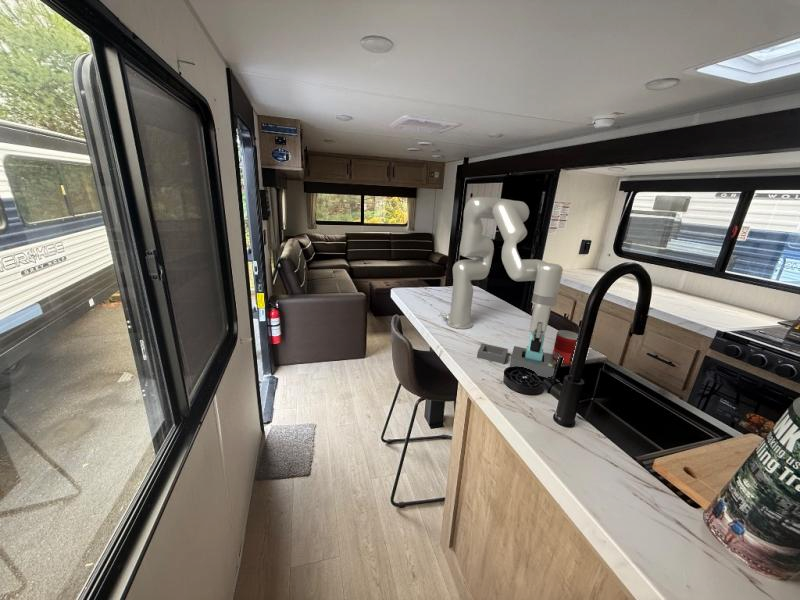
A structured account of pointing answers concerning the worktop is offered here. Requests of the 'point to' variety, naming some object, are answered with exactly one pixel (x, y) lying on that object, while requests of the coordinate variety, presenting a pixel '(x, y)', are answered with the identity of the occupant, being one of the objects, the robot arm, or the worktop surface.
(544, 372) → the port
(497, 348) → the holster
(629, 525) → the worktop surface
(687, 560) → the worktop surface
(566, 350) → the canned food
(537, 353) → the plug
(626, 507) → the worktop surface
